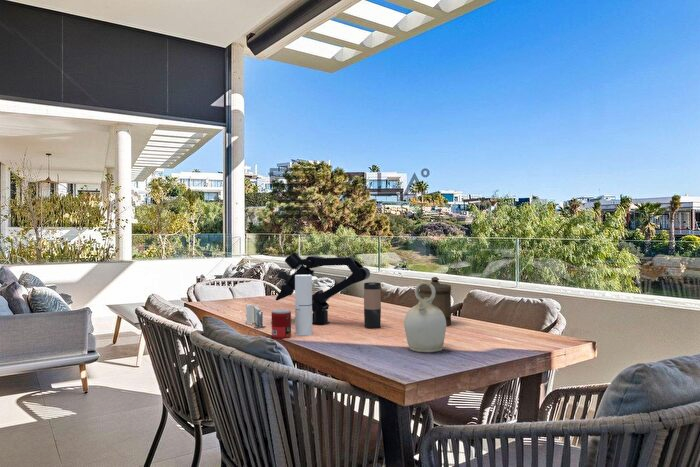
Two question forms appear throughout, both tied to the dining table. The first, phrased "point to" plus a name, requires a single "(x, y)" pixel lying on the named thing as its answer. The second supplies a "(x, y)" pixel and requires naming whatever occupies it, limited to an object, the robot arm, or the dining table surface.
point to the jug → (425, 324)
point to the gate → (256, 313)
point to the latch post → (249, 313)
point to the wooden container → (439, 297)
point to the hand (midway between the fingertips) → (276, 299)
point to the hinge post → (259, 320)
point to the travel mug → (372, 305)
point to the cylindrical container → (303, 305)
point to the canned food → (281, 323)
